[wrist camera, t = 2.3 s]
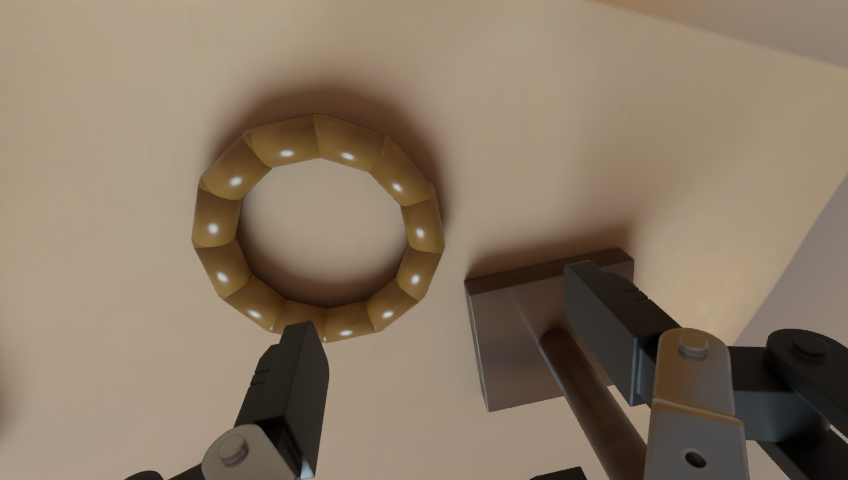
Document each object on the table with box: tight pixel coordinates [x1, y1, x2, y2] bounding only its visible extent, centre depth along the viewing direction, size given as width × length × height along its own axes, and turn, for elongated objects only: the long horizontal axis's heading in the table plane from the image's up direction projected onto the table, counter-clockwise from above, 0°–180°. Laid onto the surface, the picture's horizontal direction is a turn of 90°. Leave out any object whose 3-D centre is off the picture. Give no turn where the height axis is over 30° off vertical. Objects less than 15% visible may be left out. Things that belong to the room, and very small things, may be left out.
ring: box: [192, 114, 445, 343], centre depth 19 cm, size 12×12×2 cm
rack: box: [464, 248, 647, 480], centre depth 19 cm, size 9×9×12 cm
